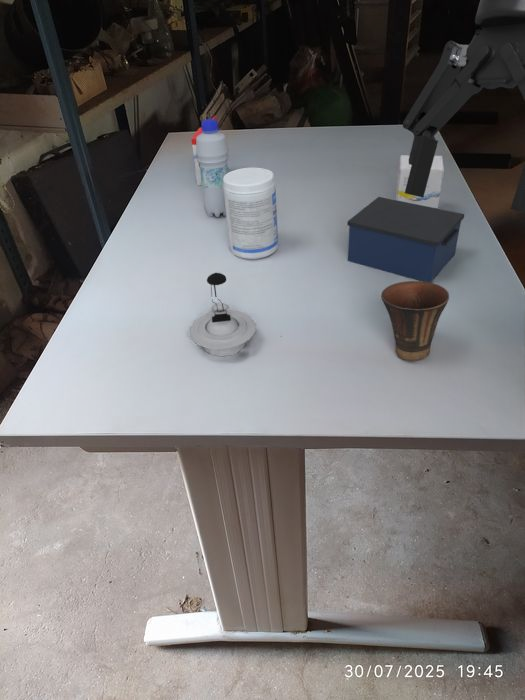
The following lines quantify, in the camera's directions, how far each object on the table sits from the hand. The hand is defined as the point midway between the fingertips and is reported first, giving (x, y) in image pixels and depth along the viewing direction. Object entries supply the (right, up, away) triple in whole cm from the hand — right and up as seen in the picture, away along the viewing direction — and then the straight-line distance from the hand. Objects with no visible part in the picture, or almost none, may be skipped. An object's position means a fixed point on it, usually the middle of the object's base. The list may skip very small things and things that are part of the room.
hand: (462, 203), depth 60 cm
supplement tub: (-24, +3, +47) cm, 52 cm away
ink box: (+10, +12, +55) cm, 57 cm away
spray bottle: (-35, +27, +78) cm, 90 cm away
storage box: (+4, +1, +41) cm, 41 cm away
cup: (-1, -16, +20) cm, 25 cm away
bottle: (-32, +14, +61) cm, 70 cm away
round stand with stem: (-28, -15, +23) cm, 39 cm away
